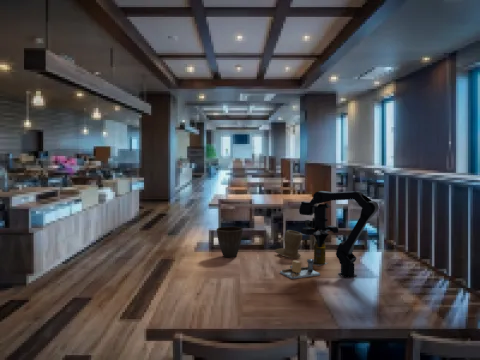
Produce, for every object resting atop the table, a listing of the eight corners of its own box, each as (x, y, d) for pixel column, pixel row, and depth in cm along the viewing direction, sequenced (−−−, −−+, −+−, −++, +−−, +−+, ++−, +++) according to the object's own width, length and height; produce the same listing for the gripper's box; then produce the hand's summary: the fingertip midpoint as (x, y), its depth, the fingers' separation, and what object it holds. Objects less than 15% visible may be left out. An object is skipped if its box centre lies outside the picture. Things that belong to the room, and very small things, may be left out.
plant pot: (212, 258, 242) (212, 230, 241) (221, 252, 256) (221, 225, 255) (238, 260, 237) (238, 231, 236) (245, 254, 251) (245, 227, 250)
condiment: (328, 263, 232) (328, 241, 231) (319, 266, 226) (319, 243, 225) (317, 260, 237) (317, 239, 236) (308, 263, 231) (308, 241, 230)
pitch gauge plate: (320, 275, 209) (320, 262, 208) (291, 279, 202) (291, 265, 202) (307, 269, 219) (307, 257, 218) (280, 273, 212) (280, 260, 212)
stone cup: (306, 258, 243) (306, 231, 242) (288, 260, 238) (288, 233, 237) (291, 252, 257) (291, 227, 256) (274, 254, 251) (274, 229, 251)
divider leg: (300, 272, 208) (300, 262, 208) (296, 273, 207) (296, 262, 207) (294, 269, 214) (294, 259, 214) (289, 270, 213) (289, 259, 213)
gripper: (326, 213, 226) (326, 242, 227) (295, 215, 218) (295, 245, 219) (339, 216, 215) (338, 247, 216) (307, 218, 208) (307, 250, 209)
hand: (319, 247), depth 216 cm, fingers closed
